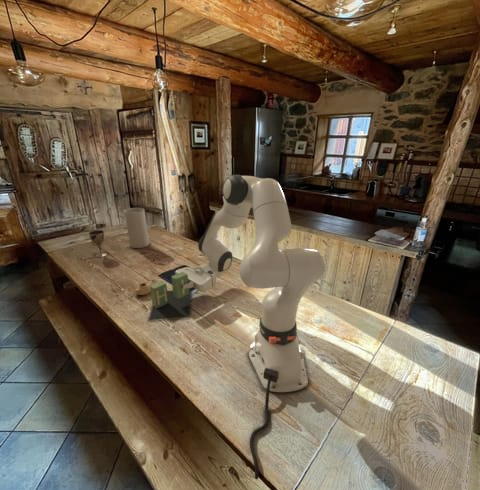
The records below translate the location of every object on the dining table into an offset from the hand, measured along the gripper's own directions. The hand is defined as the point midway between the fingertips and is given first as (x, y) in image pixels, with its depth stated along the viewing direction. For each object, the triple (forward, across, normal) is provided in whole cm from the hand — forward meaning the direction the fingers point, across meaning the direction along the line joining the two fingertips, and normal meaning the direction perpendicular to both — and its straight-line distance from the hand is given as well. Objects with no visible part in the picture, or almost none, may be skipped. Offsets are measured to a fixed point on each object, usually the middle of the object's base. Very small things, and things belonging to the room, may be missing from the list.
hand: (178, 285), depth 116 cm
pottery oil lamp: (+5, -20, +10) cm, 23 cm away
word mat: (+3, -3, +10) cm, 11 cm away
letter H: (+6, -6, +9) cm, 13 cm away
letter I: (-1, 0, +6) cm, 6 cm away
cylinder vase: (-23, -80, +10) cm, 84 cm away
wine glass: (+2, -83, +10) cm, 84 cm away
